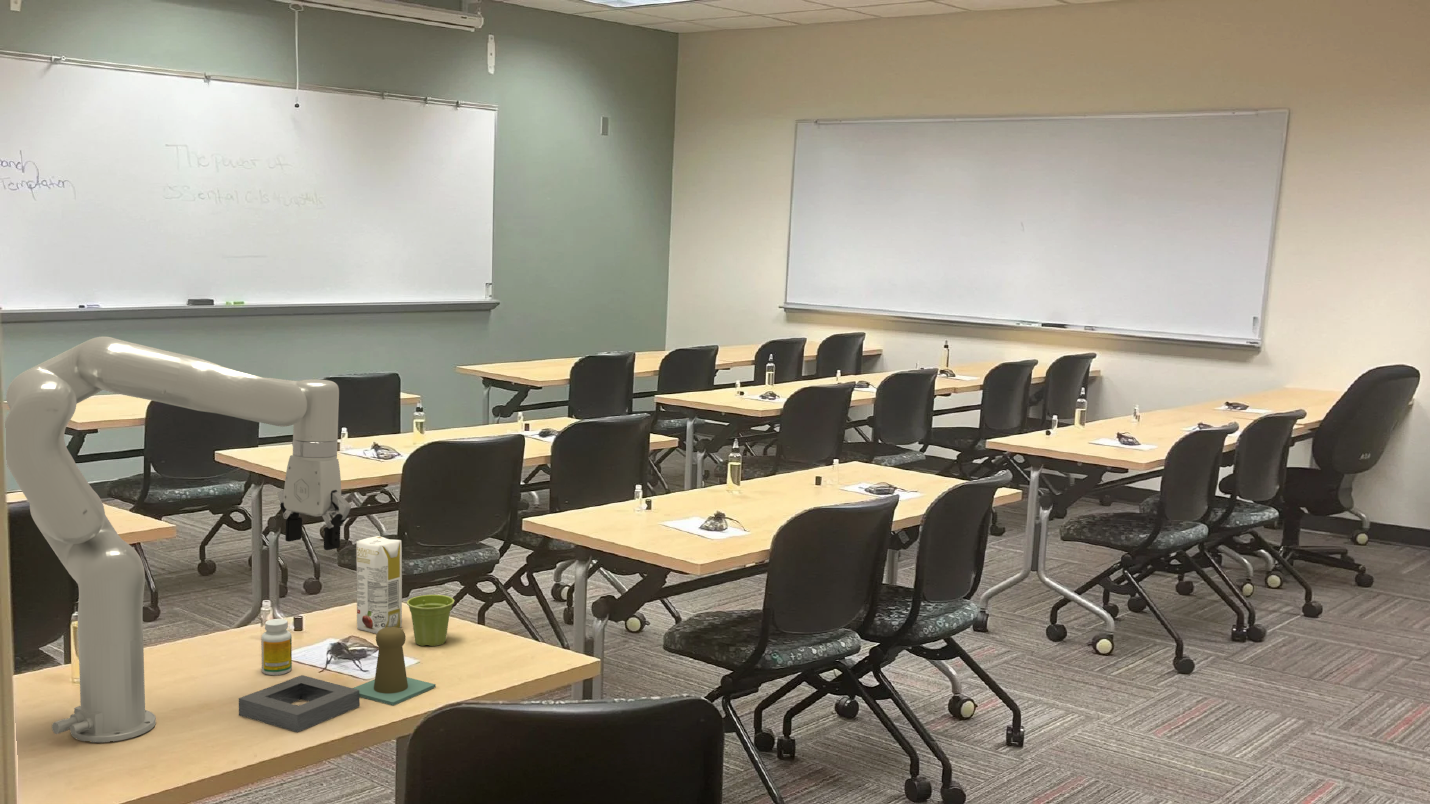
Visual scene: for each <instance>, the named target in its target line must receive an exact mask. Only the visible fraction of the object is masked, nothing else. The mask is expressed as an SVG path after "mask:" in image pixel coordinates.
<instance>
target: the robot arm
mask: <svg viewBox="0 0 1430 804" xmlns="http://www.w3.org/2000/svg"><path fill="white" fill-rule="evenodd" d="M102 391H105V392H109V393H113V394H118V395H123V396H128V397H132V398H137V399H143V400H147V401H148V400H149V401H153V402H158V403H163V404H166V405H169V406H176V407H180V408H185V409H189V410H193V411H198V412H205V413H212V414H218V415H223V416H228V417H234V418H237V419H242V420H246V421H252V422H256V423H261V424H265V425H270V426H275V427H280V428H281V427H282V428H283V427H290V426H292V427H293V428H292V429H293V430H292V431H293V433H292V443H291V444H292V445H291V446H292V455H290V456H289V459H288V462H287V467H286V473H285V478H284V479H285V480H284V487H283V489H281V490H279V491H278V492H277V498H278V501H279V503H280V504H279V507H280V509H281V511H282V512H283V514H282V516H283V519H285V537H284V539H285V542H294V541H299V540H301V539H302V536H303V518H302V516H301V514H302V515H306V516H311V517H322V519H323V521H324V523H325V525H326V527H324V528H323V549H324V551H330V550H337V549H339V548H340V547H341V527H343V526H344V523H345V521H346V520H347V519H348V516H349V513H350V511H351V509H352V505H351V504H350V503H349V502H348V501H347V500H346V498H344V496H342V481H341V479H342V477H341V469H340V463H339V459H338V439H339V438H338V435H339V408H340V407H339V403H340V400H339V399H340V388H339V385H338V383H336V382H334V381H332V380H328V379H315V378H314V379H302V380H293V379H292V380H290V379H289V380H288V379H284V378H283V379H281V378H275V377H264V376H258V375H254V374H252V373H251V374H250V373H246V372H244V371H243V372H242V371H238V370H235V369H232V368H229V367H225V366H222V365H220V364H217V363H215V362H212V361H209V360H206V359H202V358H199V357H196V356H191V355H188V354H182V353H179V352H174V351H168V350H164V349H161V348H156V347H152V346H147V345H144V344H140V343H135V342H130V341H126V340H123V339H118V338H115V337H111V336H107V335H106V336H97V337H93V338H90V339H88V340H85V341H84V342H82V343H79V344H77V345H75V346H73V347H71V348H70V349H67V350H65V351H64V352H61V353H59V354H57V355H55V356H54V357H51V358H49V359H47V360H45V361H43V362H40V363H39V364H36V365H34V366H32V367H30V368H28V369H26V370H24V371H23V372H21V373H20V374H17V376H15V378H13V379H12V381H11V382H10V383H9V385H8V387H7V390H6V393H5V394H6V398H5V399H6V404H7V406H8V408H9V412H8V414H7V416H6V418H5V421H4V423H5V428H6V460H7V464H6V465H7V467H8V469H9V471H10V473H11V476H13V479H14V480H15V481H16V483H17V485H18V487H19V488H20V490H21V492H22V493H23V495H24V497H25V498H26V500H27V502H28V503H29V511H30V515H31V518H32V520H33V522H34V524H35V525H36V527H37V528H38V530H39V531H40V532H41V534H42V536H43V537H44V539H45V540H46V542H47V543H48V544H49V546H50V548H51V549H52V550H53V552H54V553H55V555H56V556H57V558H58V560H59V561H60V563H61V564H62V565H63V567H64V568H65V570H66V571H67V572H68V574H69V575H70V577H71V578H72V579H73V580H74V581H75V582H76V584H77V586H78V605H77V607H78V608H77V642H78V665H79V666H78V667H79V668H78V669H79V693H80V694H79V698H80V701H79V702H80V705H78V706H75V707H74V708H73V710H74V712H73V714H71V715H70V716H69V717H68V718H63V719H60V720H57V721H54V722H52V724H51V730H52V732H53V734H56V735H58V734H61V733H64V732H67V731H70V735H71V737H72V738H74V739H76V740H78V741H81V742H85V741H91V742H90V743H110V741H113V742H119V741H123V740H128V739H132V738H135V737H137V736H140V735H143V734H145V733H148V732H149V731H151V730H152V729H153V728H155V726H156V723H157V722H156V721H157V720H156V719H157V718H156V715H155V714H154V713H153V712H152V711H150V710H148V709H146V695H145V694H146V693H145V691H146V690H145V687H146V686H145V659H144V658H145V657H144V656H145V652H144V626H143V624H144V622H143V609H144V608H143V606H144V603H143V602H144V593H145V584H146V580H145V579H146V575H145V574H146V573H145V572H146V571H145V567H144V564H143V560H142V558H141V556H140V554H139V553H138V552H137V550H136V549H134V547H133V546H132V545H130V544H129V543H128V542H127V541H125V540H123V538H122V537H121V536H120V535H119V534H118V532H117V531H116V529H115V528H114V526H113V525H112V522H111V521H110V520H109V519H108V516H107V515H106V511H105V507H104V503H103V502H102V498H100V496H99V495H98V493H97V492H96V491H95V490H94V489H93V488H92V486H91V485H90V483H89V482H88V481H87V479H86V477H85V476H84V475H83V473H82V471H81V470H80V468H79V467H78V466H77V464H76V461H75V460H74V458H73V456H72V454H71V452H70V451H69V449H68V448H67V445H66V441H65V432H66V429H67V426H68V424H69V422H70V421H71V420H72V418H73V416H74V415H75V412H76V409H77V405H78V404H79V403H81V402H84V401H85V400H87V399H89V398H91V397H93V396H94V395H96V394H98V393H100V392H102ZM331 516H332V517H331Z"/></svg>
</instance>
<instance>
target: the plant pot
mask: <svg viewBox="0 0 1430 804" xmlns="http://www.w3.org/2000/svg"><path fill="white" fill-rule="evenodd" d="M406 604H407V607H408V608H409V612H410V615H411V622H412V627H413V628H412V629H413V637H414V643H415V644H416V645H419V647H420V646H421V647H425V646H430V647H437V646H441V645H443V644H445V642H446V641H447V635H448V633H447V632H448V629H449V628H448V627H449V621H450V615H451V611H452V608H453V605H454V604H455V599H454V598H453V597H452V596H449V595H443V594H424V595H418V596H414V597H410V598H408V600H407V601H406Z"/></svg>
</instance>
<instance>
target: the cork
mask: <svg viewBox="0 0 1430 804" xmlns="http://www.w3.org/2000/svg"><path fill="white" fill-rule="evenodd" d="M406 638H407V637H406V633H405V631H404V629H402V627H401V628H398V627H387V628H383V629H381V630H379V631H378V633H377V634H376V636H375V642H376V646H377V647H378V653H377V660H376V661H377V662H376V666H375V667H376V668H375V676H374V679H375V682H374V690H375V691H376V692H379V693H398V692H402V691H404V690H406V689H407V688H408V683H407V677H408V676H407V670H406V663H405V656H404V648H403V646H404V644H405V643H406Z"/></svg>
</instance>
